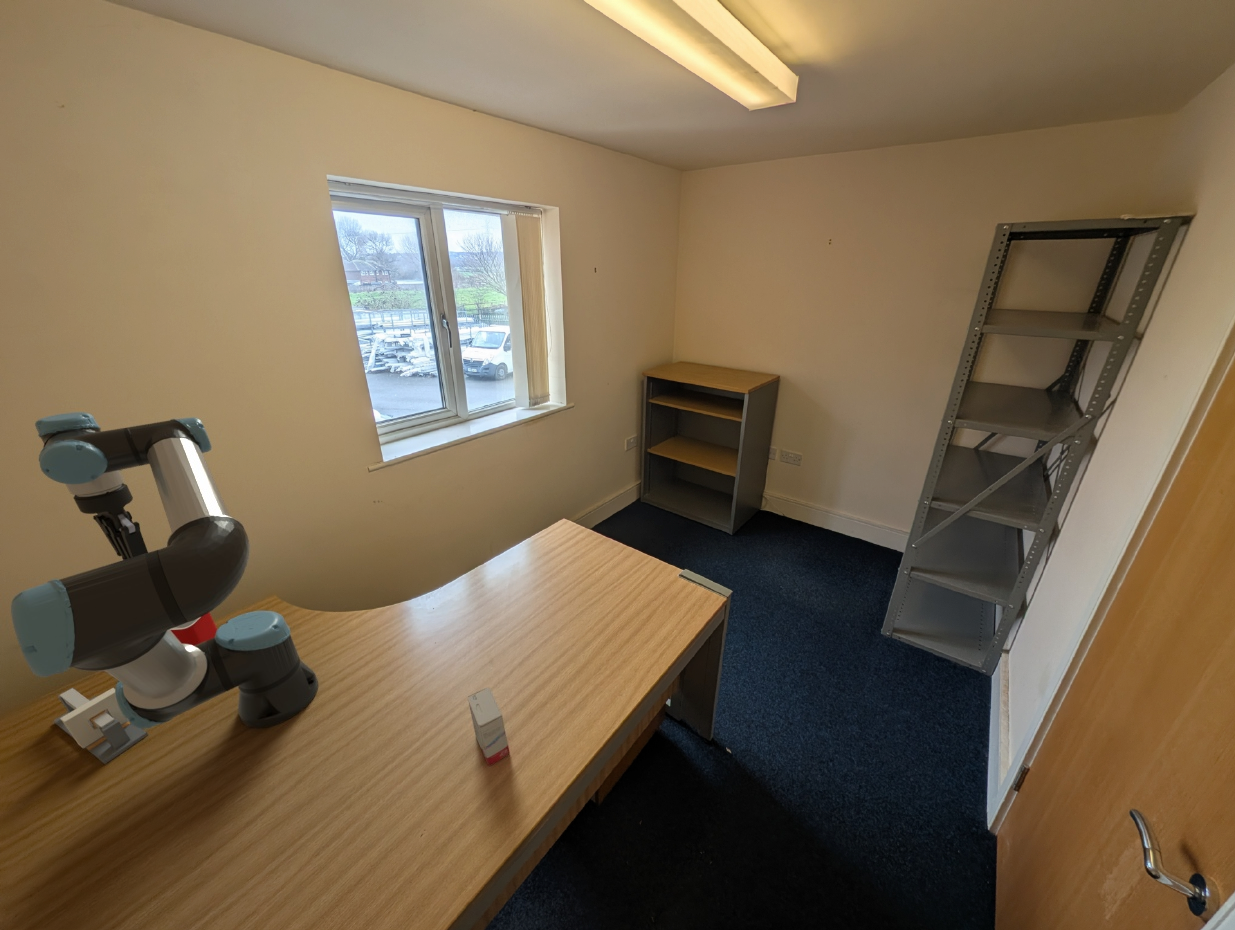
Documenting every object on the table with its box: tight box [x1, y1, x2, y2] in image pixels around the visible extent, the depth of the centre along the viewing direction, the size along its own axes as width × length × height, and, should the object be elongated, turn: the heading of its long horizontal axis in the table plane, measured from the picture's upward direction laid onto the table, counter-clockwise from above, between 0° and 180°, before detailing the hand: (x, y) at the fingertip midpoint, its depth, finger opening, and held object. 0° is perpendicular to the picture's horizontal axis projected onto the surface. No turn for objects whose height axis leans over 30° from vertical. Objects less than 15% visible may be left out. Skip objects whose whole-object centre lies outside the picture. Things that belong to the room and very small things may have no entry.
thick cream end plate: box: [60, 687, 128, 749], centre depth 96 cm, size 2×8×8 cm, turn 156°
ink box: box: [467, 686, 510, 767], centre depth 94 cm, size 9×5×12 cm, turn 33°
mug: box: [170, 612, 218, 646], centre depth 119 cm, size 12×8×11 cm
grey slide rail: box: [52, 687, 149, 765], centre depth 99 cm, size 23×7×7 cm, turn 66°
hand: (147, 583), depth 100 cm, fingers closed
